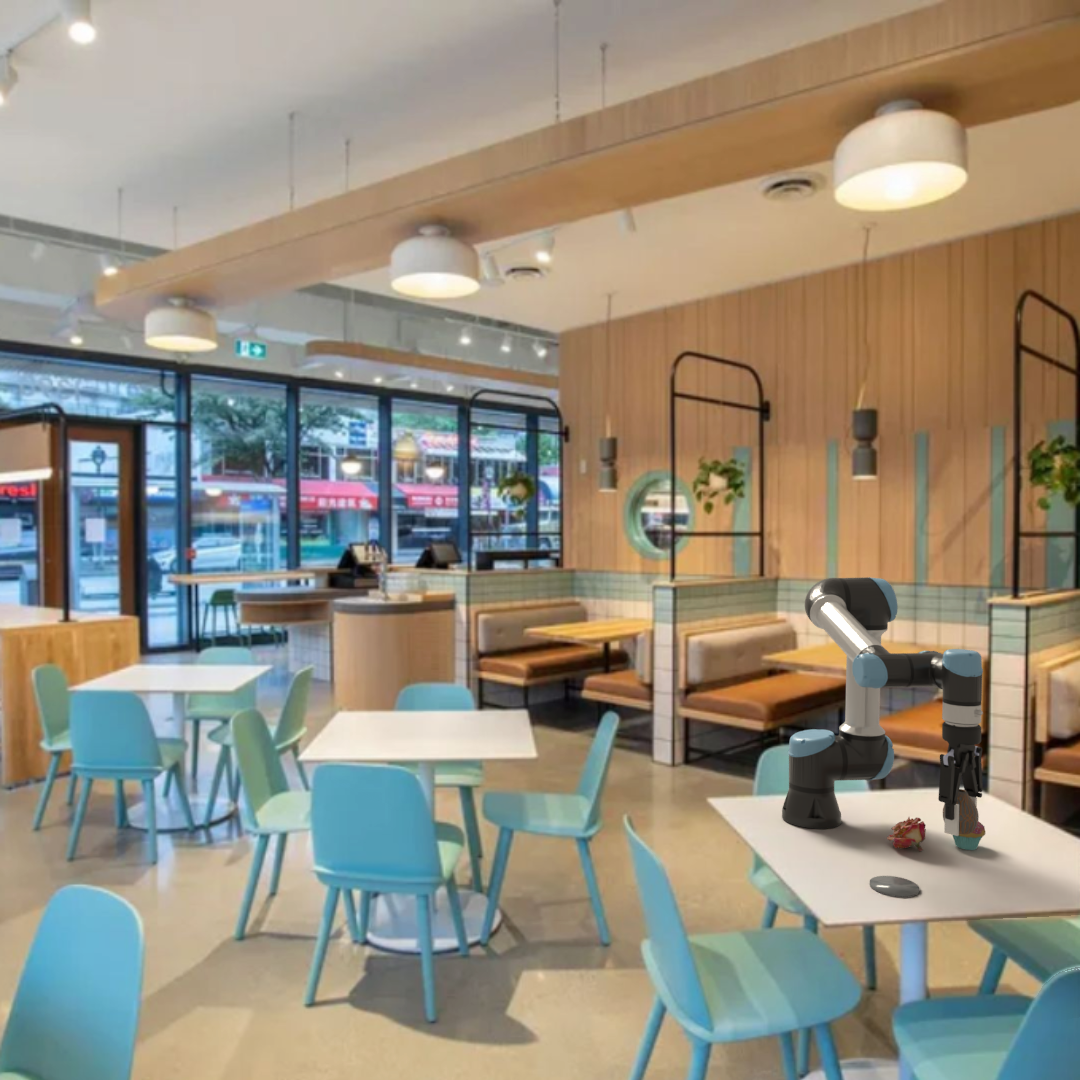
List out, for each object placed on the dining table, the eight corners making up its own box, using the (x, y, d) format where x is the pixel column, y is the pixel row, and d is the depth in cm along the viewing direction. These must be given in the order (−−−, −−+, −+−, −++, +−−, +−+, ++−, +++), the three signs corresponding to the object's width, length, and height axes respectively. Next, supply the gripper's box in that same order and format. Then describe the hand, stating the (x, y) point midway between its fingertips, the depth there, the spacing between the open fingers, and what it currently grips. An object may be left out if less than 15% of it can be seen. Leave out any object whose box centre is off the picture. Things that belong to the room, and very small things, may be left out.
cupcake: (989, 854, 210) (990, 804, 210) (951, 851, 212) (951, 801, 212) (979, 841, 218) (979, 793, 218) (942, 839, 220) (943, 791, 220)
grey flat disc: (860, 885, 191) (860, 883, 191) (885, 874, 197) (885, 872, 197) (903, 901, 183) (903, 898, 183) (928, 889, 189) (928, 886, 189)
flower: (937, 840, 214) (917, 810, 217) (937, 844, 206) (916, 813, 209) (902, 859, 217) (882, 828, 220) (900, 864, 209) (880, 832, 212)
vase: (936, 826, 191) (936, 786, 191) (966, 825, 192) (967, 785, 191) (953, 837, 184) (954, 796, 184) (985, 836, 185) (985, 795, 185)
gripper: (955, 732, 178) (954, 845, 179) (1001, 719, 190) (1000, 825, 191) (920, 726, 184) (919, 835, 185) (967, 713, 196) (966, 816, 197)
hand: (960, 829), depth 188 cm, fingers closed on vase, 7 cm apart
